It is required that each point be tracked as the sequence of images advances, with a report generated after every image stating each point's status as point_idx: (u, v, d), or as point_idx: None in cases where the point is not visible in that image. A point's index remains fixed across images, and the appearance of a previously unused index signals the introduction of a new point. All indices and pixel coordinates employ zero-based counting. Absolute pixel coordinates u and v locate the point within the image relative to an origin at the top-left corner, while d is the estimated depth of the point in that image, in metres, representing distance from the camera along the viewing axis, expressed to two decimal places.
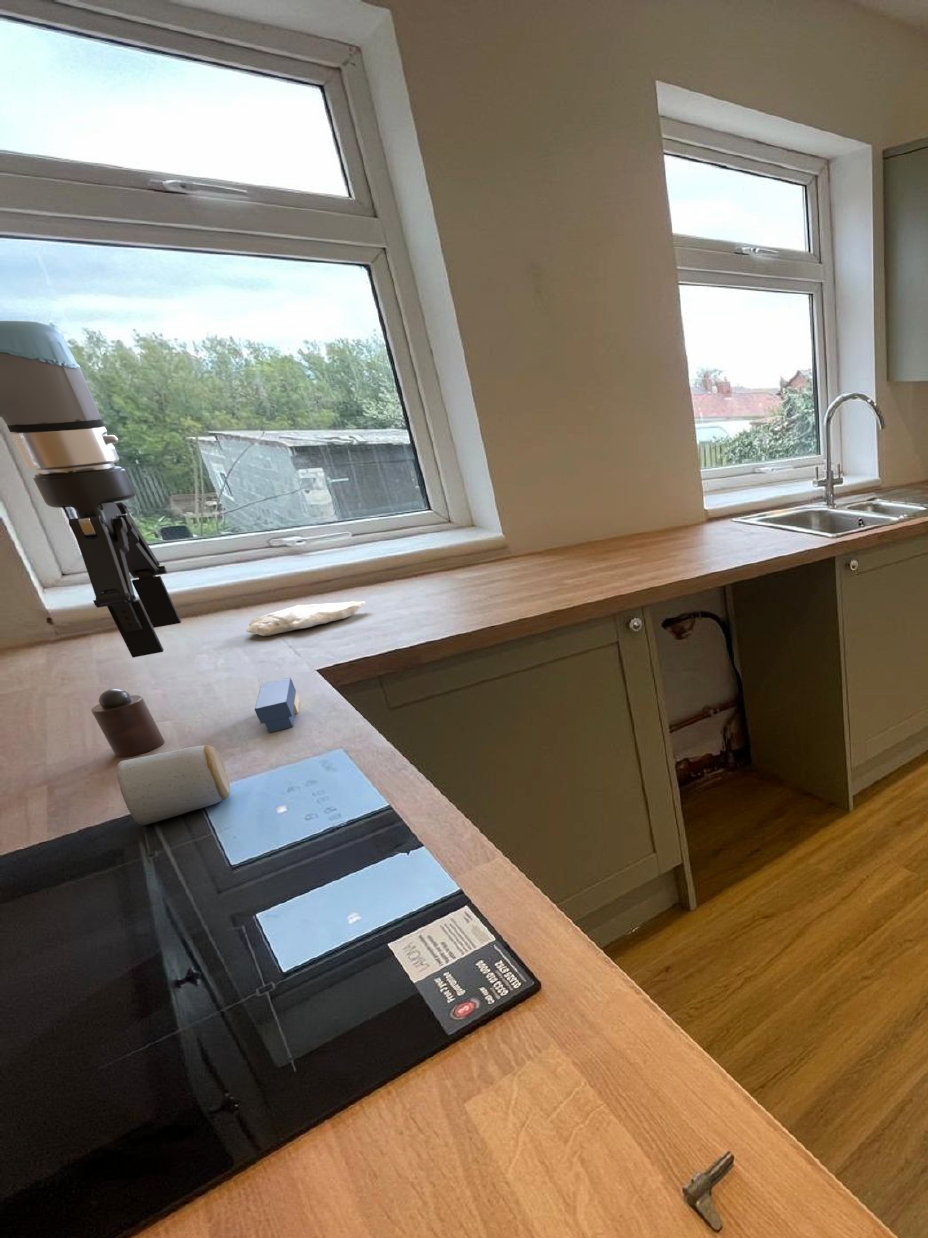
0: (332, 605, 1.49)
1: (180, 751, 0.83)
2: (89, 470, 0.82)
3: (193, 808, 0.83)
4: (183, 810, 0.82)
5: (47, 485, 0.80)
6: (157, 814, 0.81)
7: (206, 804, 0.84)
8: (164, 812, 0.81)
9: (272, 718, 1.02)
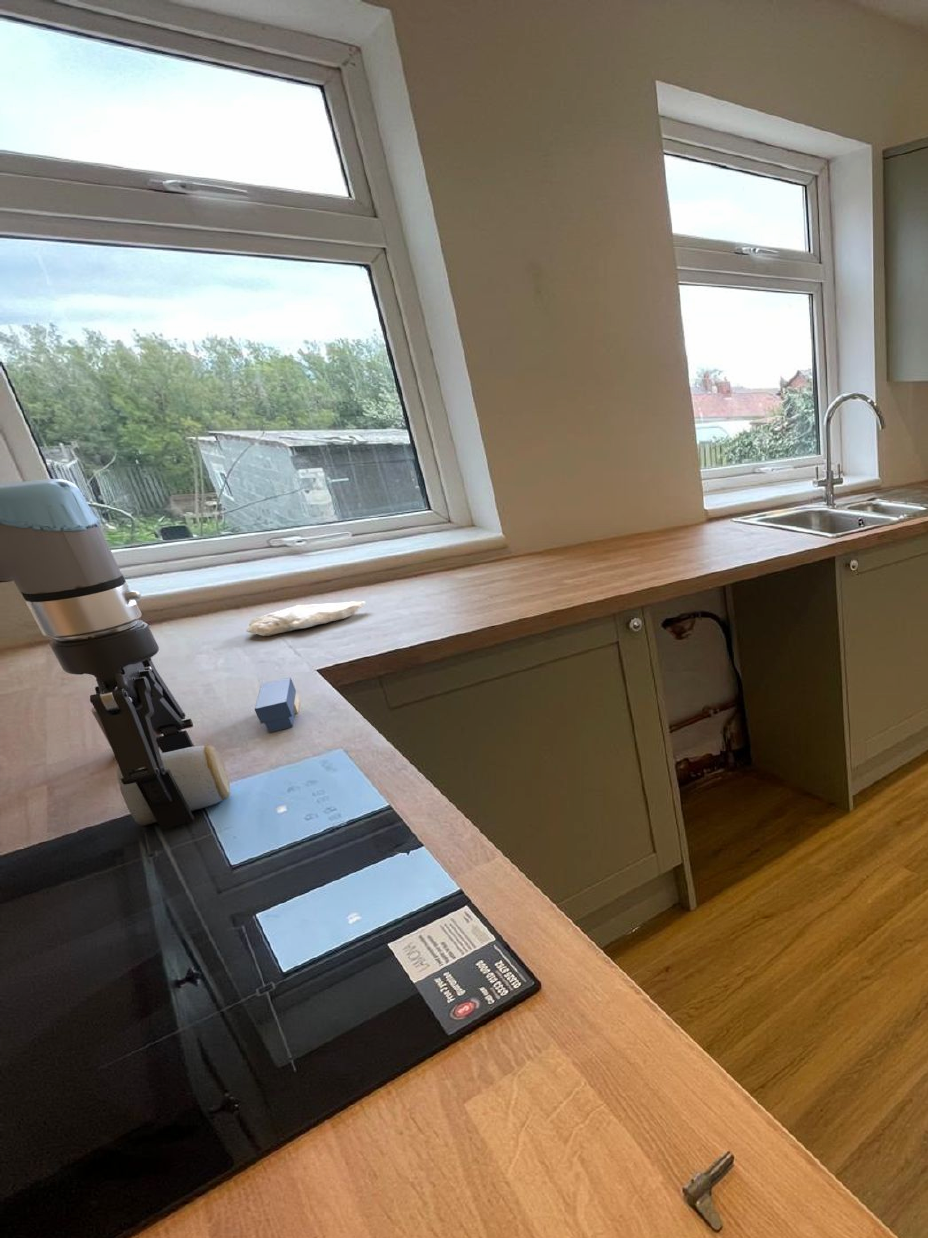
0: (332, 605, 1.49)
1: (180, 751, 0.83)
2: (109, 633, 0.75)
3: (193, 808, 0.83)
4: None
5: (64, 653, 0.74)
6: None
7: (206, 804, 0.84)
8: None
9: (272, 718, 1.02)
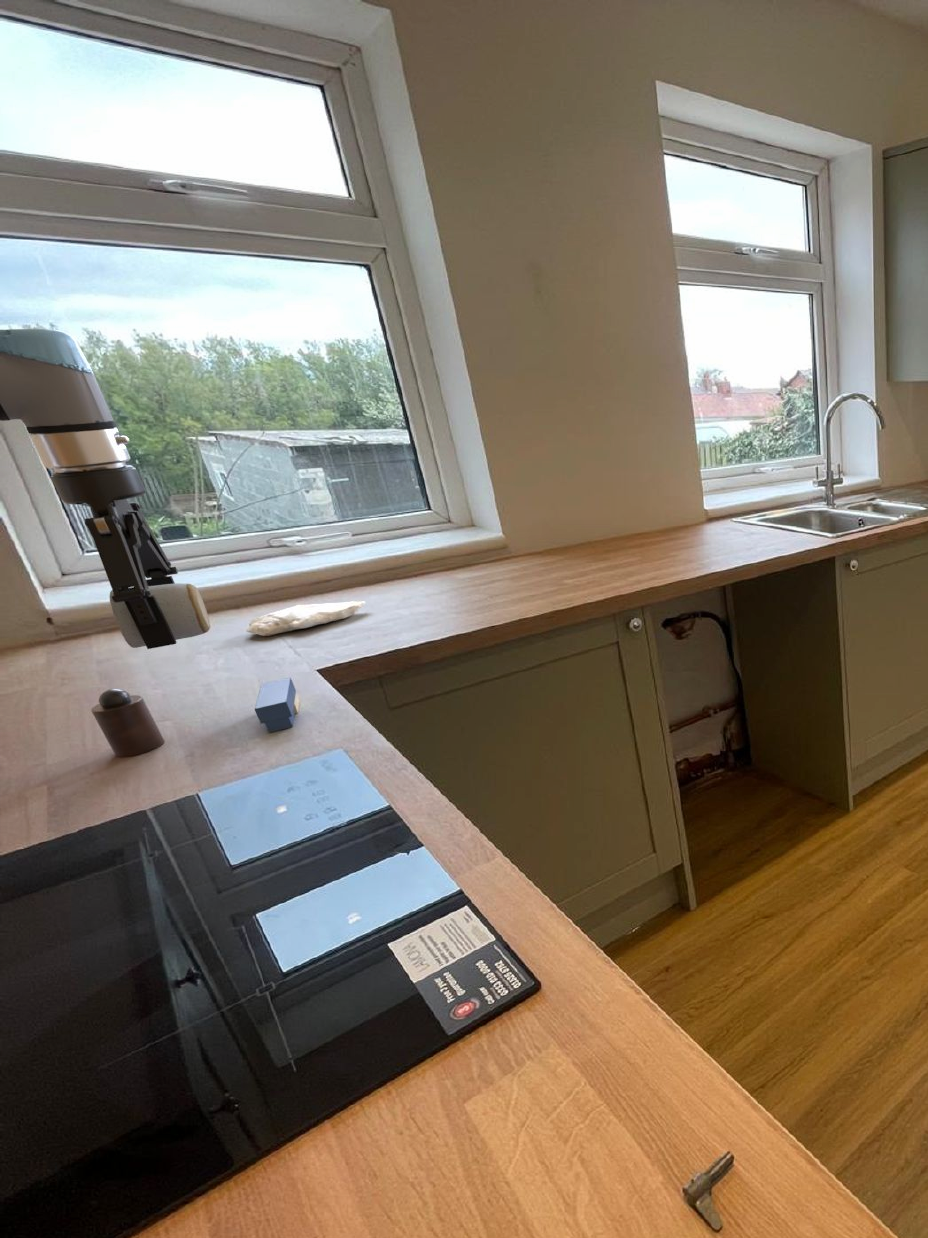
0: (332, 605, 1.49)
1: (165, 585, 0.94)
2: (102, 469, 0.87)
3: (176, 635, 0.95)
4: None
5: (63, 483, 0.85)
6: None
7: (188, 633, 0.95)
8: None
9: (272, 718, 1.02)
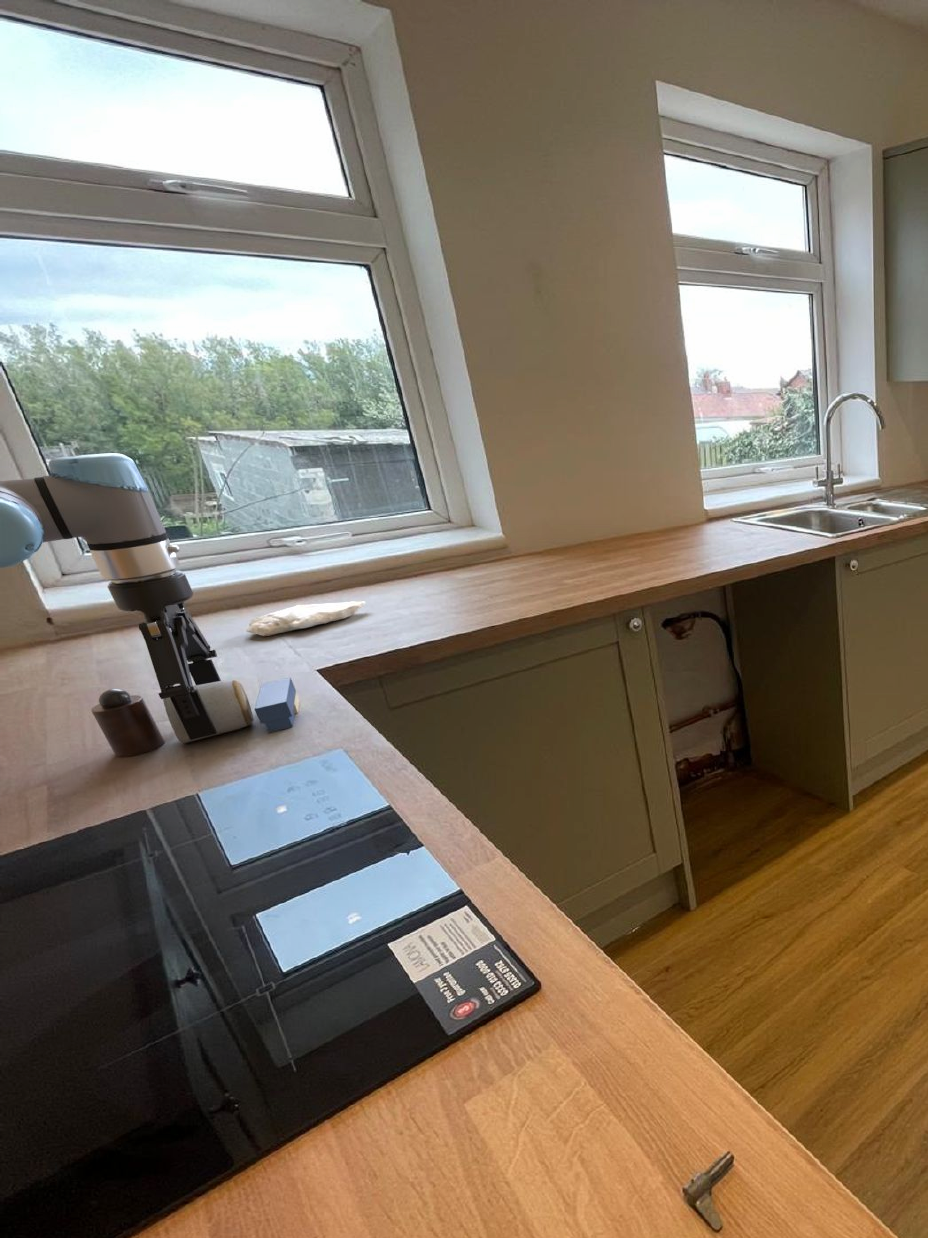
0: (332, 605, 1.49)
1: (213, 683, 1.01)
2: (155, 578, 0.93)
3: (223, 730, 1.01)
4: None
5: (120, 593, 0.92)
6: None
7: (234, 727, 1.02)
8: None
9: (272, 718, 1.02)
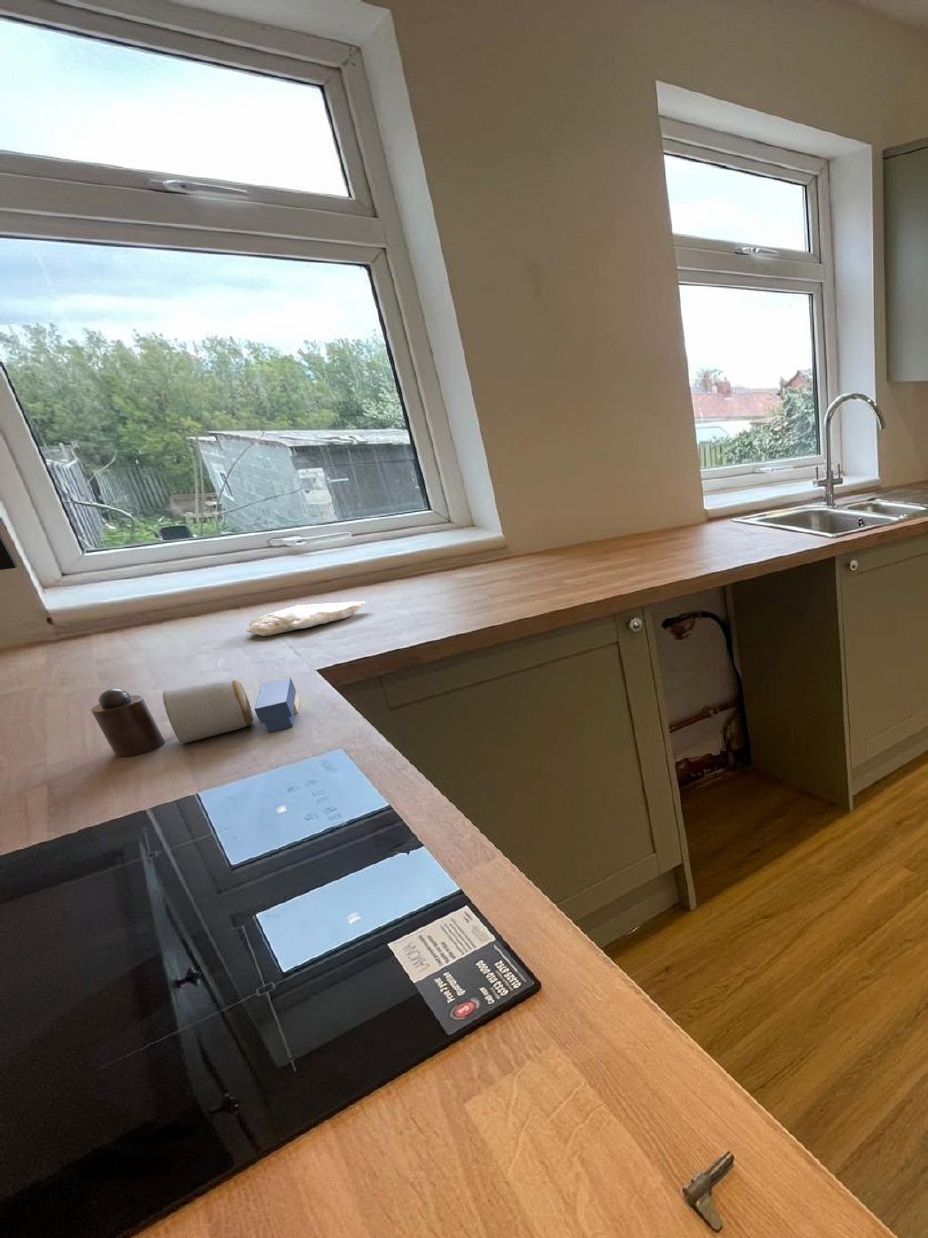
0: (332, 605, 1.49)
1: (213, 683, 1.01)
2: None
3: (223, 730, 1.01)
4: (215, 731, 1.01)
5: None
6: (195, 733, 0.99)
7: (234, 727, 1.02)
8: (201, 732, 0.99)
9: (272, 718, 1.02)
